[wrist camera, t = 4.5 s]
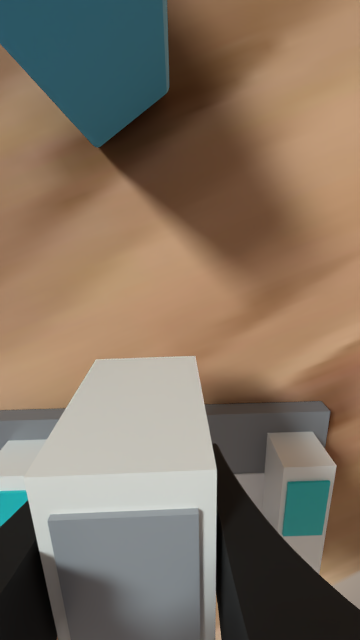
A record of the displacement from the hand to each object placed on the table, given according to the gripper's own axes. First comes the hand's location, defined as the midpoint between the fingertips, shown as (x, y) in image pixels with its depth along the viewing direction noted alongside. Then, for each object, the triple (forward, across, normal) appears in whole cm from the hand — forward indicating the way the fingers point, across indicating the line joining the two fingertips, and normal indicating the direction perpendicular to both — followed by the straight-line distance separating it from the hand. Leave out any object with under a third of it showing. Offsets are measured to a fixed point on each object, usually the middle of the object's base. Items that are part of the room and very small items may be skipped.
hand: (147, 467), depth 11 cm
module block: (+2, 0, 0) cm, 2 cm away
